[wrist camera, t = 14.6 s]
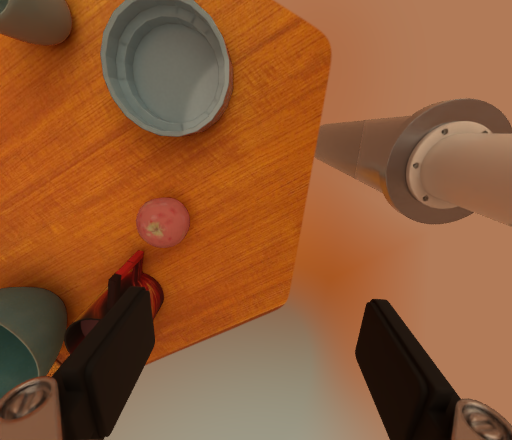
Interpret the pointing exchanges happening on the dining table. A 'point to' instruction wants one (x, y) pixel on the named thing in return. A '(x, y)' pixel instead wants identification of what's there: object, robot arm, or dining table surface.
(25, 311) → the deep teal bowl
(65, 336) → the mug
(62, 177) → the dining table surface
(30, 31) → the cup
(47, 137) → the dining table surface
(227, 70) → the bowl
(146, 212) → the apple
